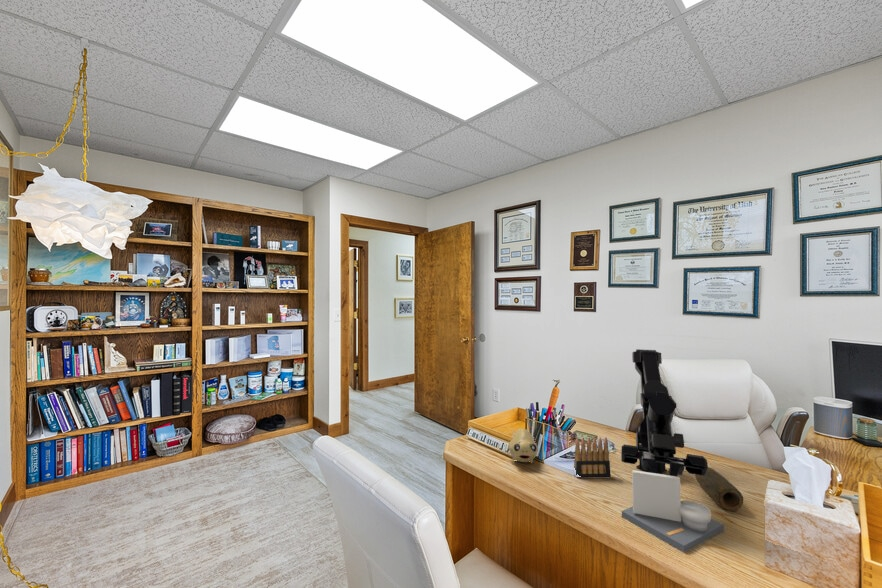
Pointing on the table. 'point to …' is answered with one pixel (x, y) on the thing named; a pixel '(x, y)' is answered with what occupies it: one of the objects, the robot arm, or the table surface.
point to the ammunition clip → (592, 459)
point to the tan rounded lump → (523, 446)
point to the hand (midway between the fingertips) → (664, 494)
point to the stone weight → (720, 490)
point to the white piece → (664, 498)
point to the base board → (675, 529)
